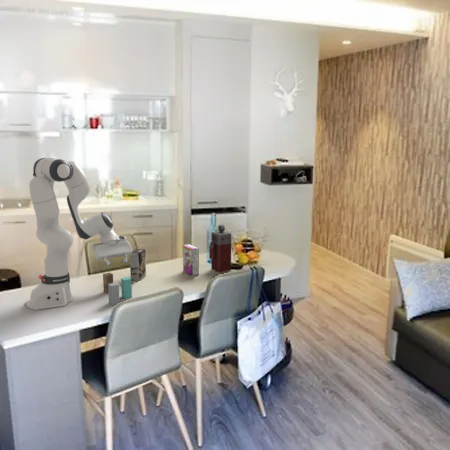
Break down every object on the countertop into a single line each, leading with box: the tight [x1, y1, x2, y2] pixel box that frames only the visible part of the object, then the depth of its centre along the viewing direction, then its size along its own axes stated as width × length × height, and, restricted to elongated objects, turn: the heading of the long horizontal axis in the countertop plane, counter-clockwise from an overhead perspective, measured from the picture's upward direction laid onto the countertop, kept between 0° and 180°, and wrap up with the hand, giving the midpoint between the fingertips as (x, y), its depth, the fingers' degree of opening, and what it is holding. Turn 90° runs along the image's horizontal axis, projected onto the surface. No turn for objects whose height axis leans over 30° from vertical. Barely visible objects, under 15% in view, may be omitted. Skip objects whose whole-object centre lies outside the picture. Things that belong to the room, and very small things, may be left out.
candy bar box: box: [182, 243, 200, 277], centre depth 305 cm, size 11×5×16 cm, turn 34°
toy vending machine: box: [208, 224, 232, 273], centre depth 311 cm, size 9×11×28 cm
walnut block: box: [102, 272, 114, 295], centre depth 272 cm, size 4×4×10 cm
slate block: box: [108, 282, 121, 306], centre depth 256 cm, size 4×4×10 cm
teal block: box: [120, 276, 133, 300], centre depth 265 cm, size 4×4×10 cm
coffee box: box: [129, 248, 147, 281], centre depth 296 cm, size 9×6×16 cm
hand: (117, 263), depth 271 cm, fingers open, 8 cm apart
